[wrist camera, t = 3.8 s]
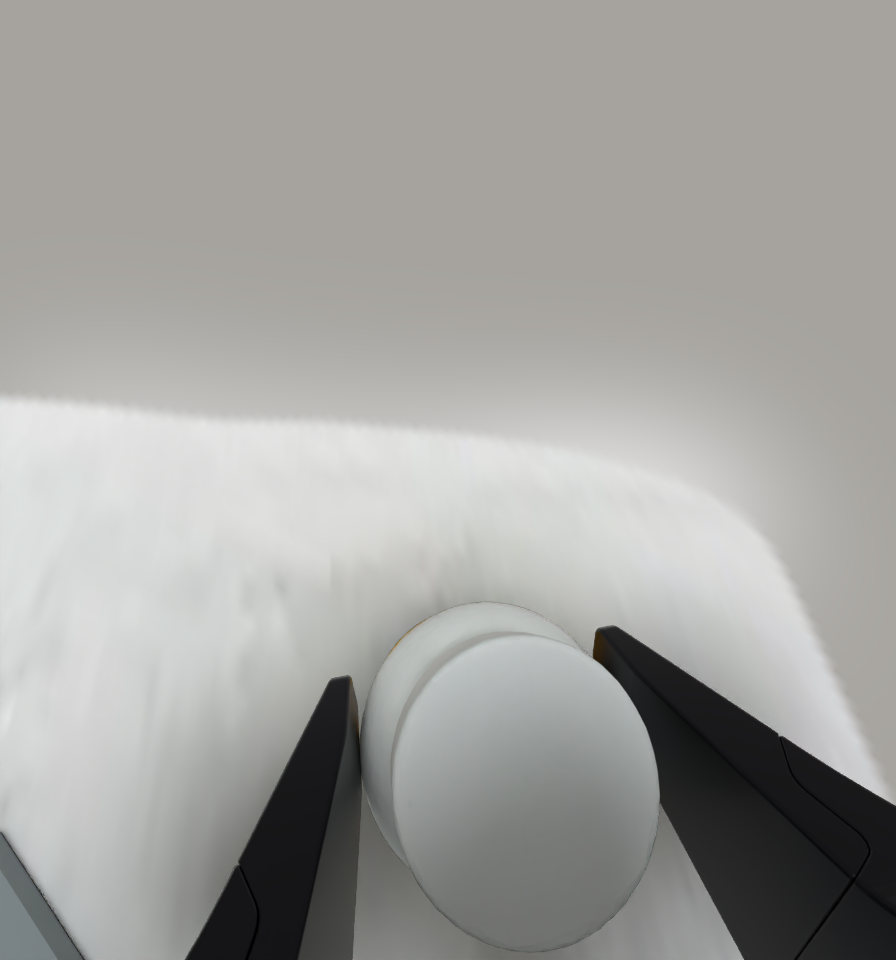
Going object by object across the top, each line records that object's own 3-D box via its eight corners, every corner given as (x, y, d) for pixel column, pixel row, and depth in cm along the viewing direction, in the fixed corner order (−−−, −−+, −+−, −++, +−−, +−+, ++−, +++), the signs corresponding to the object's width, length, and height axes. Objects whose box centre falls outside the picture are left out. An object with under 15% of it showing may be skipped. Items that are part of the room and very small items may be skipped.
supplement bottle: (376, 789, 14) (325, 1057, 5) (378, 615, 16) (342, 594, 7) (540, 777, 15) (746, 1003, 6) (525, 610, 17) (667, 584, 8)
